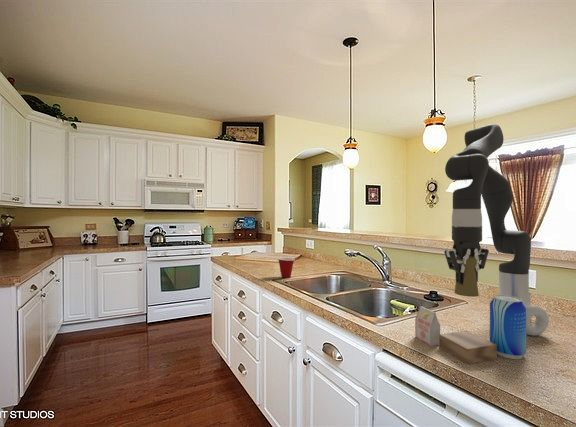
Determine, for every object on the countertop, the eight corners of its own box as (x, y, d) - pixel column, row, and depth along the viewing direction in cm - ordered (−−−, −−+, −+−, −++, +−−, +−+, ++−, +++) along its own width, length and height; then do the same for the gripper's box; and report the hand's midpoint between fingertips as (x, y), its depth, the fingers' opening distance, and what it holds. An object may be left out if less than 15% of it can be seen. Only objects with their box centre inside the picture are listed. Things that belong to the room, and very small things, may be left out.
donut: (523, 338, 96) (523, 307, 96) (514, 333, 99) (514, 303, 99) (552, 337, 97) (552, 306, 97) (542, 332, 100) (542, 303, 100)
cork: (482, 297, 82) (482, 257, 82) (458, 296, 84) (458, 256, 84) (473, 291, 88) (473, 254, 88) (451, 290, 90) (451, 253, 90)
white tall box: (424, 335, 98) (424, 305, 98) (440, 344, 92) (440, 312, 92) (415, 337, 97) (415, 306, 97) (430, 345, 91) (430, 313, 91)
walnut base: (466, 343, 92) (466, 330, 92) (496, 358, 82) (496, 344, 82) (439, 347, 90) (439, 334, 90) (467, 363, 80) (467, 349, 80)
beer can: (514, 363, 80) (514, 303, 80) (483, 350, 88) (483, 295, 88) (533, 357, 84) (532, 299, 83) (501, 344, 91) (501, 292, 91)
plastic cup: (298, 277, 185) (298, 258, 185) (283, 279, 180) (283, 260, 180) (289, 274, 194) (289, 256, 194) (274, 276, 189) (274, 257, 189)
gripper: (475, 223, 91) (475, 280, 91) (436, 224, 88) (436, 283, 88) (498, 225, 84) (498, 285, 84) (456, 225, 80) (457, 289, 81)
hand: (466, 284), depth 86 cm, fingers closed on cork, 3 cm apart
